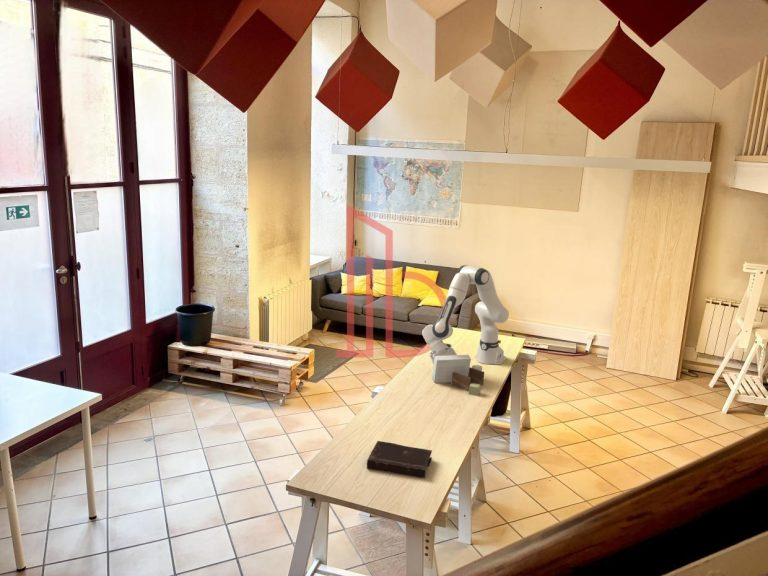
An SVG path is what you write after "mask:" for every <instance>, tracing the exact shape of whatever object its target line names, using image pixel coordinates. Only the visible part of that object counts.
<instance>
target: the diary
mask: <svg viewBox="0 0 768 576" xmlns="http://www.w3.org/2000/svg"><path fill="white" fill-rule="evenodd" d="M432 452H433V450H431V449H426V448H418V447H413V446H406V445H402V444H398V443H394V442H393V443H392V442H390V441H389V442H388V441H387V442H386V441H382V440H377V441H376V443H375V444H374V447H373V449H372V450H371V452H370V453H369V456H368V459H367V460H366V469H367V470H375V471H380V472H387V473H391V474H392V473H393V474H398V475H404V476H410V477H416V478H419V479H420V478H421V479H426V470H427V467H428V468H429V467H430V465H431V461H432V458H433V457H431V456H432Z"/></svg>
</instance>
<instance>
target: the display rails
mask: <svg viewBox="0 0 768 576" xmlns="http://www.w3.org/2000/svg"><path fill="white" fill-rule="evenodd" d="M484 380H485V371H483V370H482V371H480V370H477V369H474V368H472V366H470V368H469V374H468V376H465V375H461V374H458V373H455V372H453V375H452V382H451V386H453V387H456V388H458V389H461V390H463V391H467V392H469V386H470V385H471V383H473V384H479V385H480V386H483V385H484V382H485V381H484Z"/></svg>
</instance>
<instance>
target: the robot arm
mask: <svg viewBox="0 0 768 576" xmlns="http://www.w3.org/2000/svg"><path fill="white" fill-rule="evenodd" d="M470 285H476V289H477V293H478V298H479V300H480V301H479V302H477V303H476V304H475V306H474V312H475V314H476V316H477V318H478V319H479V323H480V331H481V332H480V339H479V346H477V352H476V355H475V356H474V358H475V359H476V362H478V363H480V364H481V363H482V364H485V365H501V364H502V363H504V362H505V361H507V360H508V356H505V355H504V354H505V352H504V350H503V348H501V346H500V344H501V343H502V340H501V339H500V340H499V328H498V327H497V325H496V323H498V324H504V323H506V321H508V319H509V315H510V314H509V310H508V309H507V308H506V306H504V304H502V301H501V300H500V298H499V296H498V294H497V291H496V287H495V282H494V279H493V277H492V274H491V272H490V271H489V270H487V269H485V268H483V267H479V266H475V265H465V264H464V265H461V266H460V267H459V268H458V269H457V271H456V273H455V275H454V277H453V279H452V281H451V282H450V285H449V288H448V292H447V295H446V299H445V302H444V304H443V306H442V309H441V312H440V315H439V317H438V318H437V319H436V321H435V322H434V323H433V324H427V325H426V326H425V327H423V329H422V331H421V334H422V337H423V339H424V341H425V342H426V344H427V345H428V347H429V348H430V351H431V352H430V353H429V356H430V360H431V362H432V364H433V365H434V360H435V356H449V355H458V354H457V352H456V350H455V349H454V348H453V346H452V344H451V343H445V342H444V341H443V340H446V339H449V338H451V336H453V332H454V328H453V326H452V325H451V324H450V320H451V318H452V315H453V312H454V310H455V309H456V308H457V307H458V306H460V305H461V304H462V303H463V302H464V300H465V299H466V296H467V293H468V290H469V286H470Z"/></svg>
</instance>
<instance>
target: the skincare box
mask: <svg viewBox="0 0 768 576" xmlns="http://www.w3.org/2000/svg"><path fill="white" fill-rule="evenodd" d="M471 362H472V358H471V356H470V355H469V354H457V355H449V356H435V360H434V364H433V369H432V370H433V371H432V376H431V380H432V381H433V383H434V384H441V383H452V375H453V372H455V373H458V374H461V375H465V376H468V374H469V368H470V367H471Z"/></svg>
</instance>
